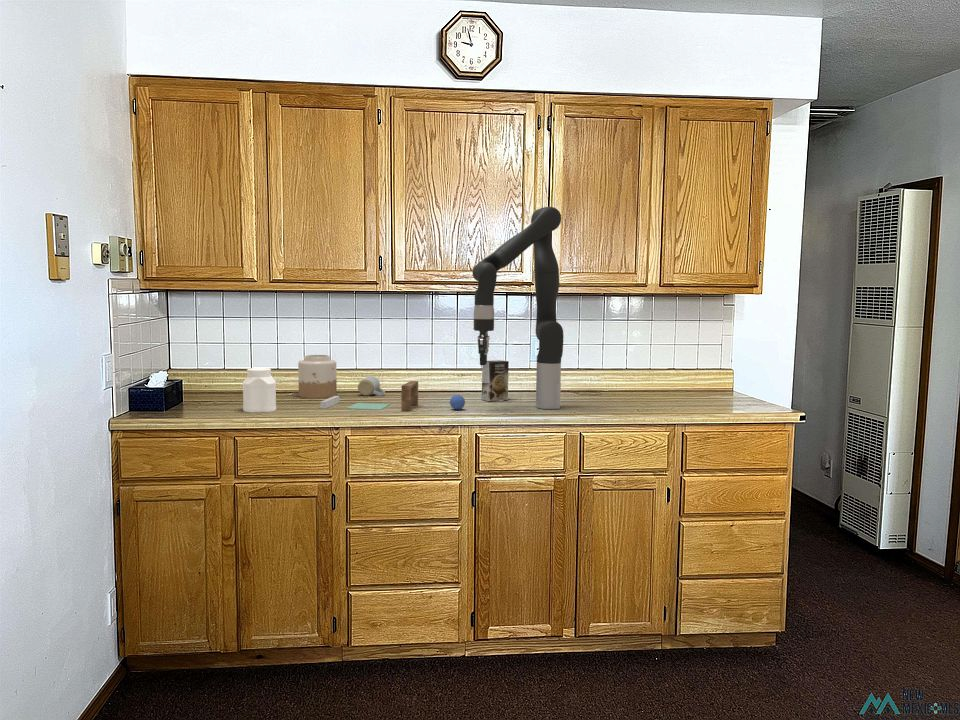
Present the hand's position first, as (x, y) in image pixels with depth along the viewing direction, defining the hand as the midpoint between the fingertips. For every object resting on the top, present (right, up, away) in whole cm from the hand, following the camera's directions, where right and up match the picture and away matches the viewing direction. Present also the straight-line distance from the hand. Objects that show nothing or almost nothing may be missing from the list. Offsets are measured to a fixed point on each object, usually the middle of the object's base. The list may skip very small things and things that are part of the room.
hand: (483, 364), depth 273 cm
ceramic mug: (-47, -13, +38) cm, 62 cm away
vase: (-68, -13, +33) cm, 77 cm away
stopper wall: (-58, -15, +9) cm, 61 cm away
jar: (-81, -17, -4) cm, 83 cm away
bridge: (-27, -16, +5) cm, 32 cm away
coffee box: (+5, -15, +27) cm, 31 cm away
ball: (-10, -14, +3) cm, 17 cm away
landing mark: (-43, -16, +7) cm, 47 cm away
